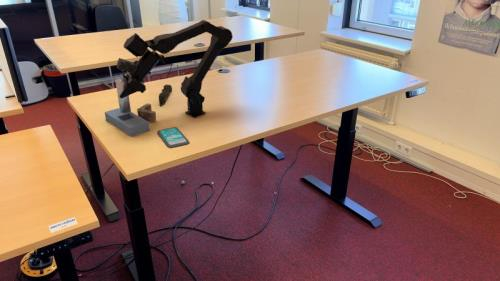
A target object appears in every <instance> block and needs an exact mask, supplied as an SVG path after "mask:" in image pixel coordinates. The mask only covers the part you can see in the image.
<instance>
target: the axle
mask: <svg viewBox="0 0 500 281" xmlns="http://www.w3.org/2000/svg"><path fill="white" fill-rule="evenodd" d="M114 80H115V87H116V93H117V94H116V95H117V99H118V100H117V101H118V108H120V112H121V113H129V112H132V110H131V109H132V107H131V101H130V95H128V96H126V97H124V98H122V99H121V98H120V97H119V96H120V94H121V93H122V91H123V89H124V88H125V86H126V80H127V79H126V78H123V77H117V78H115V79H114Z"/></svg>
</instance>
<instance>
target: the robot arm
mask: <svg viewBox="0 0 500 281" xmlns="http://www.w3.org/2000/svg"><path fill="white" fill-rule="evenodd" d="M205 33H207V34H210V35H211V36H210V42H209V43H210V44H209V46H208V47H207V49H206V51H205V53H204V55H203V56H202V57H201V60H200V61H199V63H198V65H197V66H196V68H195V70H194V72H193V73H192V74H191V75H190V76H187V75H186V76H184V78H183V81H182V82H181V83H180V91H181V93H182V94H183V95H184V96H185V98H187V110H186V111H184V113H185V114H186V115H189V116H190V117H192V118H197V117H199V116H203V115H206V114H207V112H206V111H204V109H203V108H204V106H203V105H204V104H203V103H204V102H205V99H206V97H205V96H204V95H203V94H201V93H200V92H201V91H202V87H203V86H202V85H203V81H204V79H205V78H206V76H207V73H208V72H209V70H210V69H211V67H212V65H213V64H214V62H215V60H216V59H217V57H218V55H219V53H220V52H221V51H223V49H225V48H227V46H228V45H229V44H230V43H231V42H232V39H233V32H232V31H231V30H230V29H229V28H226V27H224V26H222V25H217V26H216V25H215V24H212V23H211V22H210V21H207V20H205V19H202V20H200V21H199V22H195V23H194V24H192V25H189V26H187V27H185V28H182V29H179V30H177V31H175V32H172V33H171V32H169V33H162V34H159V35H156V36H154V37H153V38H151V39H146V40H144V39H143V38H141V36H140V34H139V35H138V33H135V32H134V34H133V35H131V36H130V37H128V38H127V39H126V40H125V42H124V43H123V46H122V47H123V49H125V50H127V51H128V52H129V53H130V54H132V55H133V56H134V57H135V58H138V57H140V58H139V59H138V60H137V59H136V60H134V62H132V61H129V60H127V59H123V58H121V57H119V58H118V60H117V63H116V65H115V66H116V68H117V70H120V71H122V78H126V79H127V80H126V86H125V88H124V89H123V91H122V93H121V94H120V96H119V97H120V98H121V99H122V98H124V97H126V96H128V95H129V96H131V95H133V94H135V93H138V92H140V93H141V94H144V93H145V91H146V90H147V87H146V84H145V83H144V82H145V78H146V77H147V76H148V75H151V74H152V72H151V71H152V70H153V68H154V67H155V66H156V65H157V64H158V63H159V61H160V62H161V63H162V64H165V63H166V62H165V55H167V54H168V53H170V52H171V51H173V50H174V49H175V48H177V46H179V45H180V44H182V43H184V42H187V41H189V40H191V39H194V38H197V37H198V36H200V35H203V34H205ZM150 49H151V50H150ZM158 52H159V53H160V54H159V53H158Z"/></svg>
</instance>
